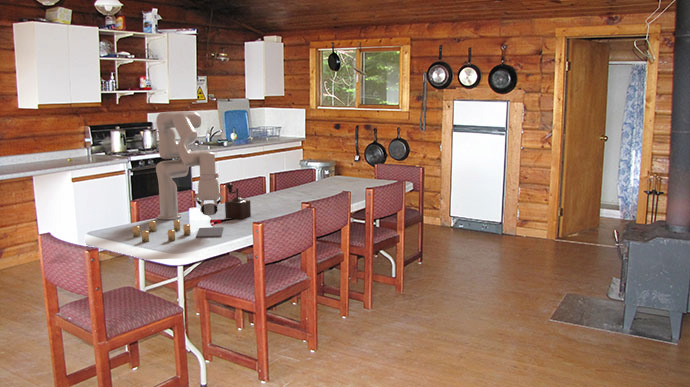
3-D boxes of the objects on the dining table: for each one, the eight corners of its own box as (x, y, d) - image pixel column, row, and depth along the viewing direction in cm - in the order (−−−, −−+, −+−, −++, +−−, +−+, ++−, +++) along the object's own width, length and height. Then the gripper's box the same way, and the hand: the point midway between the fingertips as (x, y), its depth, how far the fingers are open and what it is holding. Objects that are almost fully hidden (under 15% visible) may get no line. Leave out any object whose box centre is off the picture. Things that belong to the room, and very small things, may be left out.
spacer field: (137, 230, 313) (137, 221, 312) (192, 229, 316) (192, 219, 315) (128, 242, 289) (127, 232, 288) (187, 240, 293) (187, 230, 292)
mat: (199, 229, 316) (199, 227, 316) (223, 228, 317) (223, 227, 317) (196, 237, 298) (196, 236, 298) (221, 237, 300) (221, 235, 300)
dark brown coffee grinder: (252, 216, 347) (251, 184, 344) (240, 220, 337) (239, 187, 334) (230, 213, 354) (229, 182, 351) (217, 217, 344) (216, 185, 341)
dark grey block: (204, 213, 308) (204, 203, 308) (215, 212, 309) (214, 203, 308) (203, 215, 303) (203, 205, 302) (214, 215, 303) (213, 205, 303)
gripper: (225, 175, 308) (227, 211, 311) (190, 176, 305) (192, 212, 308) (225, 177, 300) (226, 214, 303) (189, 178, 298) (191, 215, 301)
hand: (209, 213), depth 306 cm, fingers closed on dark grey block, 5 cm apart
